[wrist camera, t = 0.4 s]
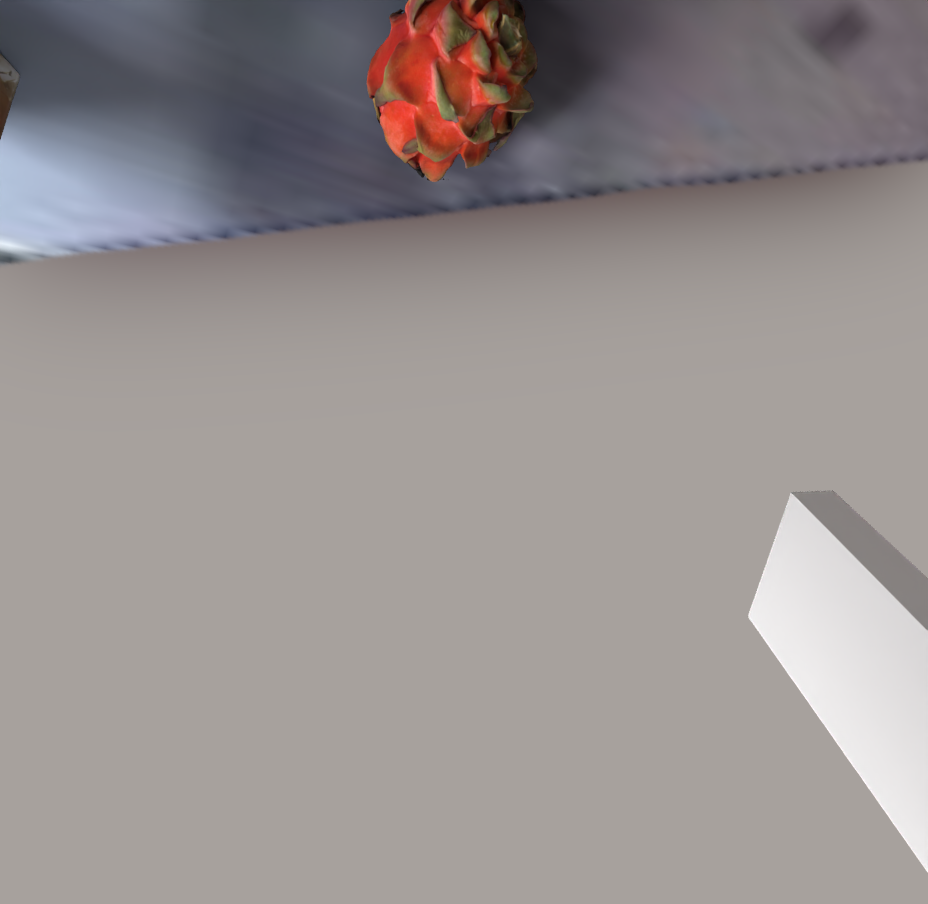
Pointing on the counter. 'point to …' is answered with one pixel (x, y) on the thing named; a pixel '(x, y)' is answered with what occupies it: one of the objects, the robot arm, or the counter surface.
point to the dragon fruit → (452, 81)
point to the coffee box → (6, 89)
